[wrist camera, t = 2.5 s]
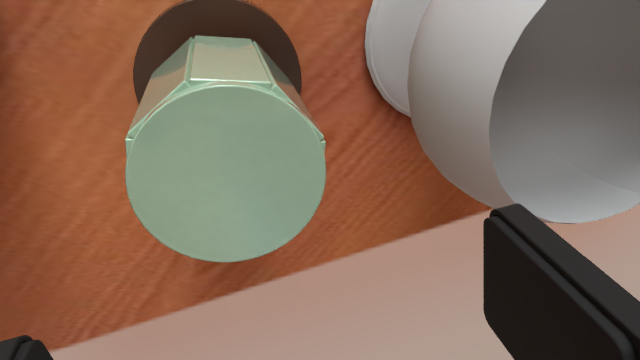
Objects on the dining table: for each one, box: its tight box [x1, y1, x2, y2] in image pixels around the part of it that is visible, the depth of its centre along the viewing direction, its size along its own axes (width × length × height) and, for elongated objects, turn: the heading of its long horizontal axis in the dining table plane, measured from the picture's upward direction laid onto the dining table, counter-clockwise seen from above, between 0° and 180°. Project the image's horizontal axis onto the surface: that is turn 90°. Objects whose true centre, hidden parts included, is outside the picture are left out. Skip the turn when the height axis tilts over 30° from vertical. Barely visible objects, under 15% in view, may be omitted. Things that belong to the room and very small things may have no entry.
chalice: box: [365, 0, 640, 224], centre depth 25 cm, size 14×14×15 cm
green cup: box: [125, 35, 326, 262], centre depth 21 cm, size 7×7×9 cm
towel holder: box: [133, 0, 301, 104], centre depth 23 cm, size 10×10×14 cm
